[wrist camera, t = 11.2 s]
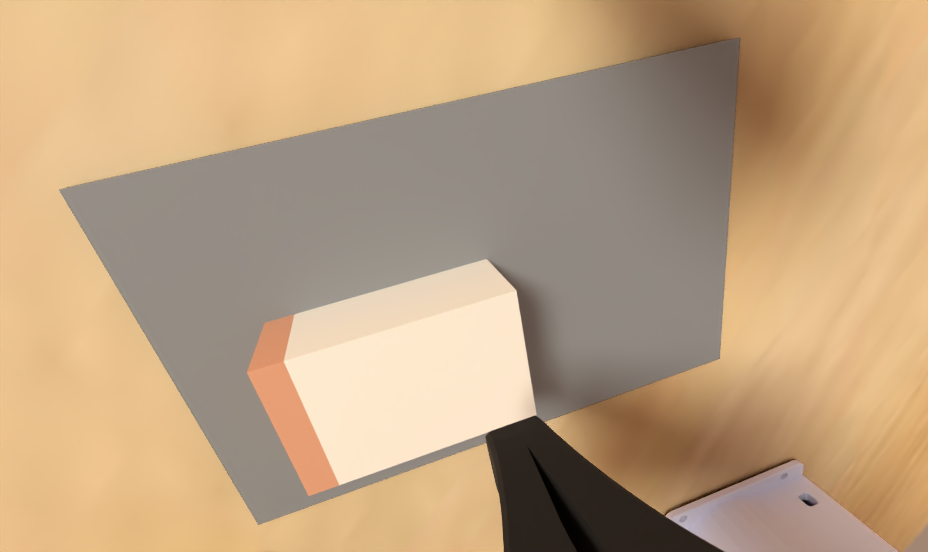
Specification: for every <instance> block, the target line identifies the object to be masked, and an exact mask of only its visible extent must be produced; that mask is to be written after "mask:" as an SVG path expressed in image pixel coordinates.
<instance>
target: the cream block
mask: <svg viewBox="0 0 928 552" xmlns="http://www.w3.org/2000/svg"><path fill="white" fill-rule="evenodd" d="M247 374H248V376H249V378H250V380H251V382H252V384H253V386H254V388H255V390H256V392H257V394H258V396H259V398H260V400H261V402H262V404H263V406H264V408H265V410H266V412H267V414H268V416H269V418H270V420H271V422H272V424H273V426H274V428H275V430H276V432H277V434H278V436H279V438H280V440H281V442H282V444H283V446H284V448H285V450H286V452H287V454H288V456H289V458H290V460H291V462H292V464H293V466H294V468H295V470H296V472H297V474H298V476H299V478H300V480H301V482H302V484H303V486H304V488H305V490H306V492H307V494H308V496H311V495H314V494H316V493H319V492H322V491H325V490H328V489H331V488H333V487H336V486H339V485H342V484H345V483H347V482H350V481H353V480H356V479H359V478H361V477H364V476H367V475H370V474H373V473H375V472H378V471H381V470H384V469H387V468H389V467H392V466H395V465H398V464H401V463H403V462H406V461H409V460H412V459H415V458H417V457H420V456H423V455H426V454H429V453H431V452H434V451H437V450H440V449H443V448H445V447H448V446H451V445H454V444H457V443H460V442H462V441H465V440H468V439H471V438H474V437H476V436H479V435H482V434H485V433H488V432H490V431H492V430H495V429H498V428H501V427H504V426H506V425H509V424H512V423H515V422H518V421H521V420H523V419H526V418H529V417H532V416H535V415H537V414H536V408H535V402H534V396H533V390H532V384H531V377H530V371H529V365H528V359H527V353H526V347H525V340H524V334H523V328H522V322H521V316H520V309H519V303H518V297H517V291H516V290H515V289H514V287H513V286H512V285H511V284H510V283H509V282H508V281H507V280H506V279H505V278H504V277H503V276H502V275H501V274H500V273H499V271H498V270H497V269H496V268H495V267H494V266H493V265H492V264H491V263H490V262H489V261H488V260H487V259H485V260H481V261H478V262H474V263H471V264H467V265H464V266H460V267H457V268H453V269H450V270H447V271H443V272H440V273H436V274H433V275H429V276H426V277H422V278H419V279H415V280H412V281H408V282H405V283H401V284H398V285H394V286H391V287H388V288H384V289H381V290H377V291H374V292H370V293H367V294H363V295H360V296H356V297H353V298H349V299H346V300H342V301H339V302H336V303H332V304H329V305H325V306H322V307H318V308H315V309H311V310H308V311H304V312H301V313H297V314H294V315H290V316H287V317H283V318H280V319H277V320H273V321H270V322H266V323H264V326H263V329H262V332H261V334H260V337H259V340H258V343H257V346H256V348H255V351H254V354H253V357H252V359H251V362H250V365H249V368H248V371H247Z"/></svg>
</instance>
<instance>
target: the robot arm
mask: <svg viewBox="0 0 928 552" xmlns="http://www.w3.org/2000/svg"><path fill="white" fill-rule="evenodd" d="M485 439H486V443H487V447H488V452H489V456H490V460H491V465H492V469H493V473H494V478H495V482H496V486H497V490H498V493H499V496H500V504H501V512H502V525H503V542H504V552H899V551H897V550H896V549H895V548H894V547H892V546H891V545H890V544H889V543H887V542H886V541H885V540H884V539H882V538H881V537H880V536H879V535H877V534H876V533H875V532H874V531H872V530H871V529H870V528H869V527H867V526H866V525H865V524H864V523H862V522H861V521H860V520H859V519H857V518H856V517H855V516H854V515H852V514H851V513H850V512H849V511H847V510H846V509H845V508H844V507H842V506H841V505H840V504H839V503H837V502H836V501H835V500H834V499H833V498H831V497H830V496H829V495H828V494H826V493H825V492H824V491H823V490H821V489H820V488H819V487H818V486H816V485H815V484H814V483H813V482H811V481H810V480H809V479H808V478H806V477H805V476H804V475H803V470H804V465H803V464H802V463H801V462H799V461H798V460H792V461H790V462H788V463H785V464H783V465H780V466H778V467H776V468H773V469H771V470H768V471H766V472H764V473H761V474H759V475H756V476H754V477H752V478H749V479H747V480H744V481H742V482H740V483H737V484H735V485H732V486H730V487H728V488H725V489H723V490H720V491H718V492H716V493H713V494H711V495H708V496H706V497H704V498H701V499H699V500H697V501H694V502H692V503H689V504H687V505H685V506H682V507H680V508H677V509H675V510H673V511H670V512H669V513H668V514H666V516H664V515H663V514H661V513H659V512H658V511H656V510H655V509H653V508H652V507H650V506H649V505H647V504H646V503H644V502H643V501H642V500H640V499H639V498H637V497H636V496H634V495H633V494H632V493H630V492H629V491H627V490H626V489H624V488H623V487H622V486H620V485H619V484H618V483H616V482H615V481H614V480H612V479H611V478H610V477H608V476H607V475H606V474H604V473H603V472H602V471H601V470H599V469H598V468H597V467H595V466H594V465H593V464H592V463H590V462H589V461H588V460H587V459H585V458H584V457H583V456H582V455H580V454H579V453H578V452H577V451H576V450H574V449H573V448H572V447H571V446H570V445H569V444H567V443H566V442H565V441H564V440H563V439H562V438H561V437H559V436H558V435H557V434H556V433H555V432H554V431H553V430H552V429H551V428H550V427H549V426H548V425H546V424H545V423H544V422H543V421H542V420H541V419H540V418H539V417H537V416H532V417H529V418H526V419H523V420H521V421H518V422H515V423H512V424H509V425H506V426H504V427H501V428H498V429H495V430H492V431H490V432H488V434H487V435H486V436H485Z"/></svg>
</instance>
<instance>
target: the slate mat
mask: <svg viewBox="0 0 928 552" xmlns="http://www.w3.org/2000/svg"><path fill="white" fill-rule="evenodd" d="M739 49H740V38H734V39H729V40H725V41H720V42H716V43H711V44H707V45H702V46H698V47H693V48H689V49H684V50H680V51H675V52H671V53H666V54H662V55H658V56H653V57H649V58H644V59H640V60H635V61H631V62H626V63H622V64H617V65H613V66H608V67H604V68H599V69H595V70H590V71H586V72H581V73H577V74H573V75H568V76H564V77H559V78H555V79H550V80H546V81H541V82H537V83H532V84H528V85H523V86H519V87H514V88H510V89H505V90H501V91H496V92H492V93H487V94H483V95H479V96H474V97H470V98H465V99H461V100H456V101H452V102H447V103H443V104H438V105H434V106H429V107H425V108H420V109H416V110H411V111H407V112H402V113H398V114H394V115H389V116H385V117H380V118H376V119H371V120H367V121H362V122H358V123H353V124H349V125H344V126H340V127H335V128H331V129H326V130H322V131H317V132H313V133H309V134H304V135H300V136H295V137H291V138H286V139H282V140H277V141H273V142H268V143H264V144H259V145H255V146H250V147H246V148H241V149H237V150H232V151H228V152H223V153H219V154H215V155H210V156H206V157H201V158H197V159H192V160H188V161H183V162H179V163H174V164H170V165H165V166H161V167H156V168H152V169H147V170H143V171H138V172H134V173H130V174H125V175H121V176H116V177H112V178H107V179H103V180H98V181H94V182H89V183H85V184H80V185H76V186H71V187H67V188H64V189H60V190H59V191H60V192H61V194H62V196H63V197H64V199H65V201H66V203H67V204H68V206H69V208H70V209H71V211H72V213H73V214H74V216H75V218H76V219H77V221H78V223H79V224H80V226H81V228H82V229H83V231H84V233H85V234H86V236H87V238H88V239H89V241H90V243H91V245H92V246H93V248H94V250H95V251H96V253H97V255H98V256H99V258H100V260H101V261H102V263H103V265H104V266H105V268H106V270H107V271H108V273H109V275H110V276H111V278H112V280H113V281H114V283H115V285H116V287H117V288H118V290H119V292H120V293H121V295H122V297H123V298H124V300H125V302H126V303H127V305H128V307H129V308H130V310H131V312H132V313H133V315H134V317H135V318H136V320H137V322H138V324H139V325H140V327H141V329H142V330H143V332H144V334H145V335H146V337H147V339H148V340H149V342H150V344H151V345H152V347H153V349H154V350H155V352H156V354H157V355H158V357H159V359H160V360H161V362H162V364H163V366H164V367H165V369H166V371H167V372H168V374H169V376H170V377H171V379H172V381H173V382H174V384H175V386H176V387H177V389H178V391H179V392H180V394H181V396H182V397H183V399H184V401H185V402H186V404H187V406H188V408H189V409H190V411H191V413H192V414H193V416H194V418H195V419H196V421H197V423H198V424H199V426H200V428H201V429H202V431H203V433H204V434H205V436H206V438H207V439H208V441H209V443H210V444H211V446H212V448H213V450H214V451H215V453H216V455H217V456H218V458H219V460H220V461H221V463H222V465H223V466H224V468H225V470H226V471H227V473H228V475H229V476H230V478H231V480H232V481H233V483H234V485H235V486H236V488H237V490H238V492H239V493H240V495H241V497H242V498H243V500H244V502H245V503H246V505H247V507H248V508H249V510H250V512H251V513H252V515H253V517H254V518H255V520H256V522H257V523H258V525H260V524H262V523H265V522H268V521H271V520H273V519H276V518H279V517H282V516H285V515H287V514H290V513H293V512H296V511H298V510H301V509H304V508H307V507H309V506H312V505H315V504H318V503H321V502H323V501H326V500H329V499H332V498H334V497H337V496H340V495H343V494H346V493H348V492H351V491H354V490H357V489H359V488H362V487H365V486H368V485H371V484H373V483H376V482H379V481H382V480H384V479H387V478H390V477H393V476H395V475H398V474H401V473H404V472H407V471H409V470H412V469H415V468H418V467H420V466H423V465H426V464H429V463H432V462H434V461H437V460H440V459H443V458H445V457H448V456H451V455H454V454H457V453H459V452H462V451H465V450H468V449H470V448H473V447H476V446H479V445H482V444H484V443H486V439H485V436H486V435H487V434H488V433H485V434H482V435H479V436H476V437H474V438H471V439H468V440H465V441H462V442H460V443H457V444H454V445H451V446H448V447H445V448H443V449H440V450H437V451H434V452H431V453H429V454H426V455H423V456H420V457H417V458H415V459H412V460H409V461H406V462H403V463H401V464H398V465H395V466H392V467H389V468H387V469H384V470H381V471H378V472H375V473H373V474H370V475H367V476H364V477H361V478H359V479H356V480H353V481H350V482H347V483H345V484H342V485H339V486H336V487H333V488H331V489H328V490H325V491H322V492H319V493H316V494H314V495H311V496H308V494H307V492H306V490H305V488H304V486H303V484H302V482H301V480H300V478H299V476H298V474H297V472H296V470H295V468H294V466H293V464H292V462H291V460H290V458H289V456H288V454H287V452H286V450H285V448H284V446H283V444H282V442H281V440H280V438H279V436H278V434H277V432H276V430H275V428H274V426H273V424H272V422H271V420H270V418H269V416H268V414H267V412H266V410H265V408H264V406H263V404H262V402H261V400H260V398H259V396H258V394H257V392H256V390H255V388H254V386H253V384H252V382H251V380H250V378H249V376H248V374H247V371H248V368H249V365H250V362H251V359H252V357H253V354H254V351H255V348H256V346H257V343H258V340H259V337H260V334H261V332H262V329H263V326H264V323H266V322H270V321H273V320H277V319H280V318H283V317H287V316H290V315H294V314H297V313H301V312H304V311H308V310H311V309H315V308H318V307H322V306H325V305H329V304H332V303H336V302H339V301H342V300H346V299H349V298H353V297H356V296H360V295H363V294H367V293H370V292H374V291H377V290H381V289H384V288H388V287H391V286H394V285H398V284H401V283H405V282H408V281H412V280H415V279H419V278H422V277H426V276H429V275H433V274H436V273H440V272H443V271H447V270H450V269H453V268H457V267H460V266H464V265H467V264H471V263H474V262H478V261H481V260H485V259H487V260H488V261H489V262H490V263H491V264H492V265H493V266H494V267H495V268H496V269H497V270H498V271H499V273H500V274H501V275H502V276H503V277H504V278H505V279H506V280H507V281H508V282H509V283H510V284H511V285H512V286H513V287H514V289H515V290H516V291H517V297H518V303H519V309H520V316H521V322H522V328H523V334H524V340H525V347H526V353H527V359H528V365H529V371H530V377H531V384H532V390H533V396H534V402H535V408H536V414H537V415H535V416H537V417H539V418H540V419H541V420H542V421H543V422H545V421H548V420H551V419H554V418H556V417H559V416H562V415H565V414H568V413H570V412H573V411H576V410H579V409H581V408H584V407H587V406H590V405H592V404H595V403H598V402H601V401H604V400H606V399H609V398H612V397H615V396H617V395H620V394H623V393H626V392H629V391H631V390H634V389H637V388H640V387H642V386H645V385H648V384H651V383H654V382H656V381H659V380H662V379H665V378H667V377H670V376H673V375H676V374H678V373H681V372H684V371H687V370H690V369H692V368H695V367H698V366H701V365H703V364H706V363H709V362H712V361H715V360H717V359H720V346H721V330H722V315H723V299H724V284H725V268H726V252H727V237H728V221H729V205H730V190H731V174H732V159H733V143H734V127H735V112H736V96H737V80H738V65H739Z"/></svg>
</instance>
